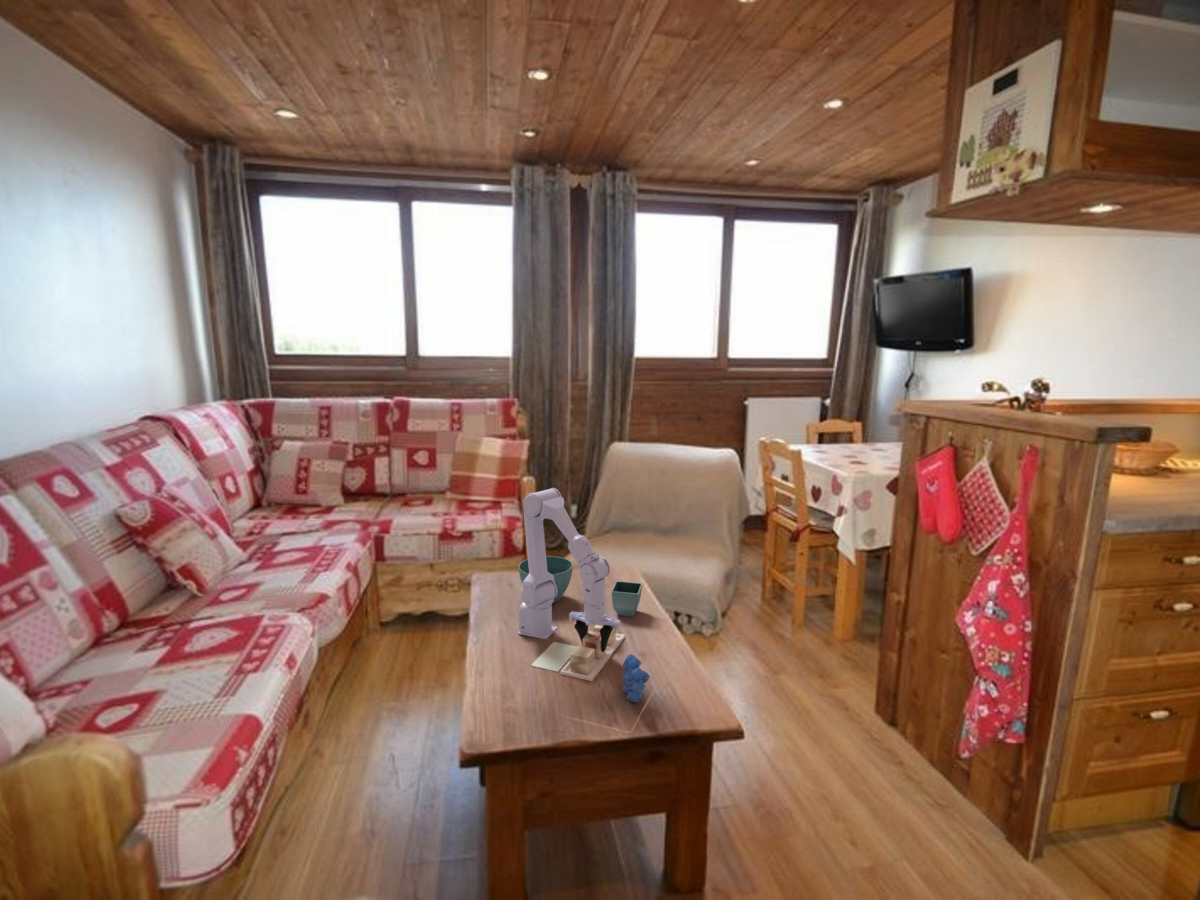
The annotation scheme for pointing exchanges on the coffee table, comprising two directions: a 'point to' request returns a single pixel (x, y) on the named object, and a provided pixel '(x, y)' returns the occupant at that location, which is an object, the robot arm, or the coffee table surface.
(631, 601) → the flower pot
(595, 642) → the lettered cube
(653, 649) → the coffee table surface
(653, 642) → the coffee table surface
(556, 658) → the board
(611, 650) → the sorting tray
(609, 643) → the plain cube far
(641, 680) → the grapes
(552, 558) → the teal round bowl
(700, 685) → the coffee table surface
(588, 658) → the plain cube near
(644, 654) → the coffee table surface
